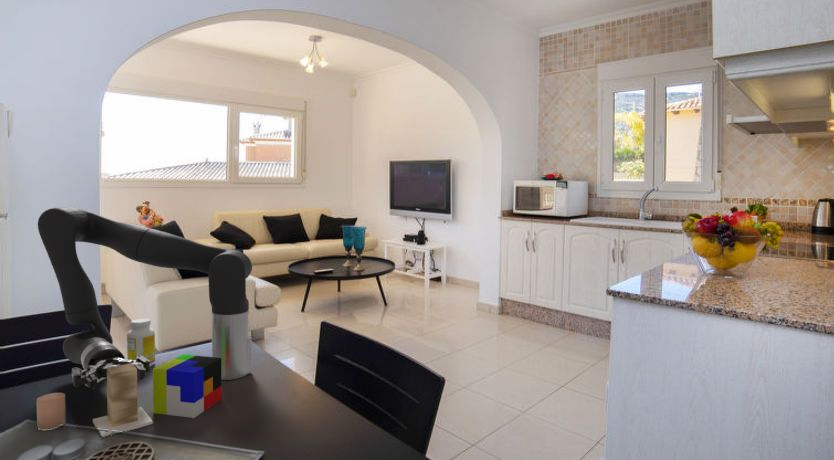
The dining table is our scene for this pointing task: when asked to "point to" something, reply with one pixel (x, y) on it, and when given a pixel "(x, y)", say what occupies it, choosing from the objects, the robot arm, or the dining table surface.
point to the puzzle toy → (186, 385)
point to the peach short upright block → (50, 410)
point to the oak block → (122, 394)
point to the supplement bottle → (141, 341)
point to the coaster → (104, 424)
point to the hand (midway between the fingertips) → (119, 379)
